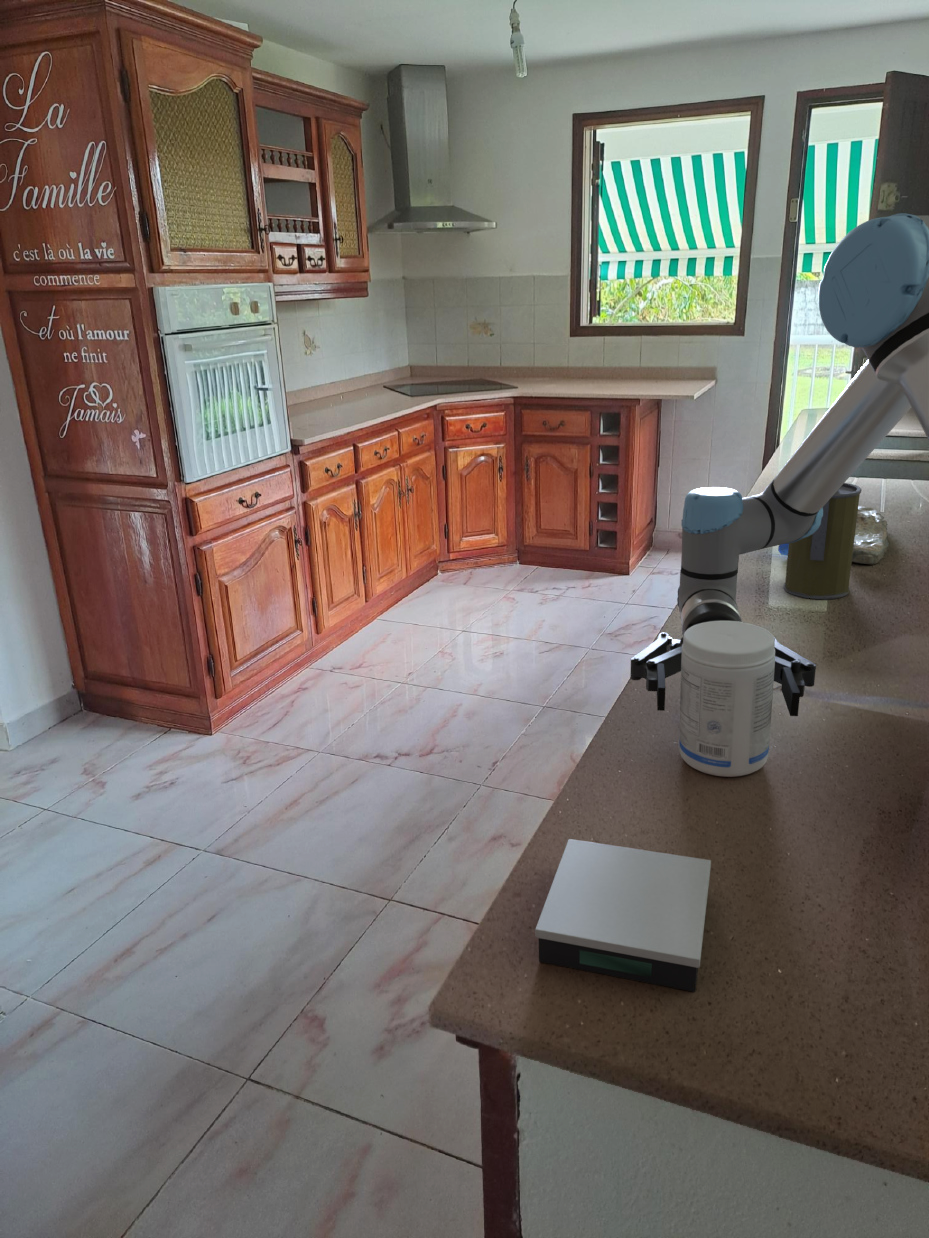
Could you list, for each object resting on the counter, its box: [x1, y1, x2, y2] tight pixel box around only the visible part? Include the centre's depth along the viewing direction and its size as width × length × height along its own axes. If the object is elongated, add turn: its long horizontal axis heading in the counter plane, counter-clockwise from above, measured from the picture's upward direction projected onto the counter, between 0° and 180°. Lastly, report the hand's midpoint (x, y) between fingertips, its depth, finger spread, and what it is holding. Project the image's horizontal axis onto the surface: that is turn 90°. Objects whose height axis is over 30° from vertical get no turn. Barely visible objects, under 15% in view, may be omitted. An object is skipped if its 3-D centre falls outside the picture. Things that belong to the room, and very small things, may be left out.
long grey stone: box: [852, 505, 890, 566], centre depth 173 cm, size 35×5×10 cm
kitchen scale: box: [534, 838, 712, 993], centre depth 72 cm, size 12×12×3 cm
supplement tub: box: [678, 621, 775, 778], centre depth 95 cm, size 10×10×15 cm
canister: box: [783, 482, 862, 601], centre depth 144 cm, size 11×10×20 cm
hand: (727, 702), depth 93 cm, fingers open, 13 cm apart
